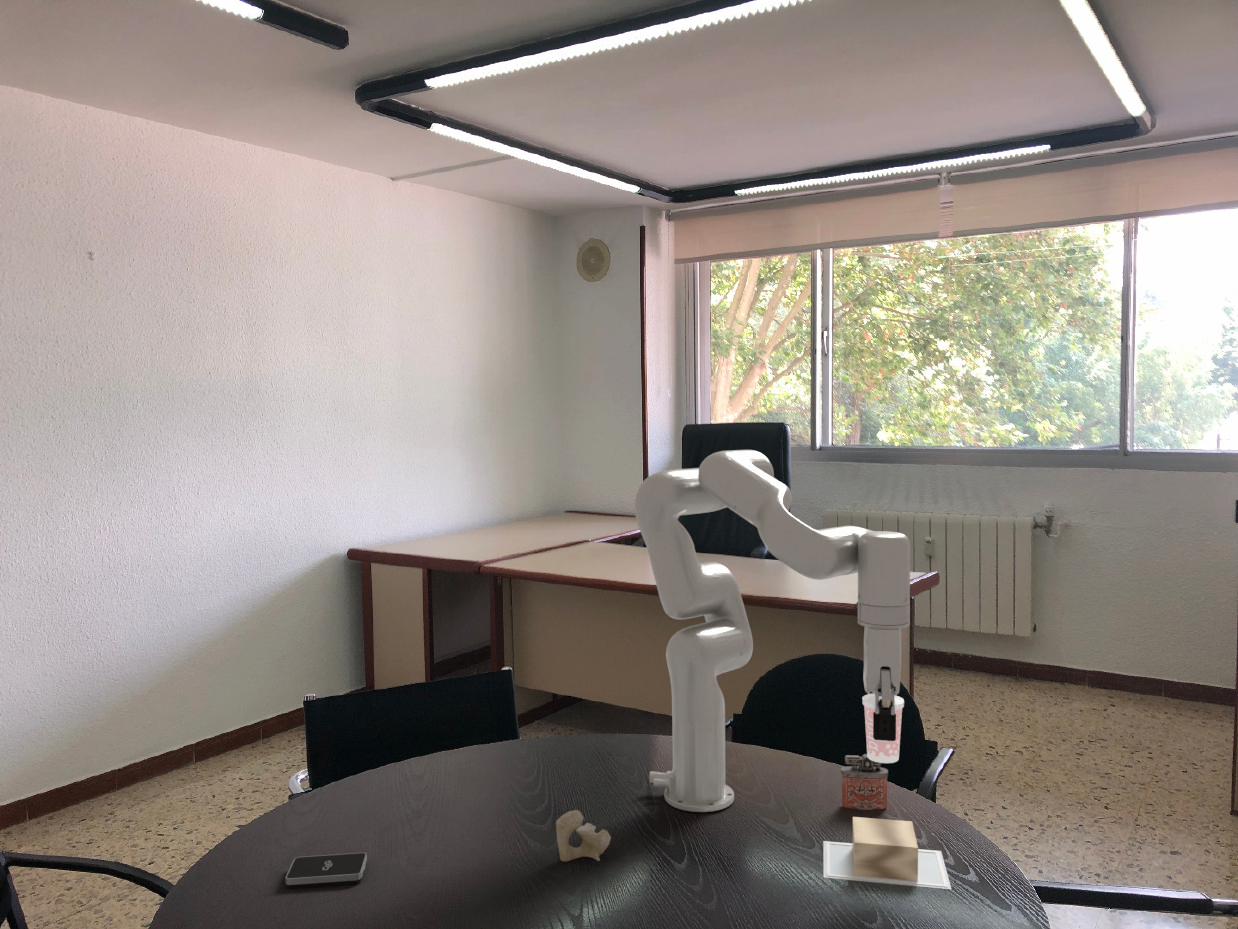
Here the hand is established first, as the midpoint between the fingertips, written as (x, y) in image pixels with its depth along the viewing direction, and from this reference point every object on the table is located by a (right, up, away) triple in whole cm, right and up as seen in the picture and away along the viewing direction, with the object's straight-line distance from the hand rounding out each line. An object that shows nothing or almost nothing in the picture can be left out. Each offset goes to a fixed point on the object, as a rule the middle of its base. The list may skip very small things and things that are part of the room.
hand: (883, 731), depth 141 cm
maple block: (0, -20, +1) cm, 21 cm away
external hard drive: (-84, -23, +1) cm, 88 cm away
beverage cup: (0, -4, 0) cm, 4 cm away
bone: (-45, -22, +7) cm, 51 cm away
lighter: (+3, -21, +22) cm, 30 cm away
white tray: (0, -21, +1) cm, 22 cm away
